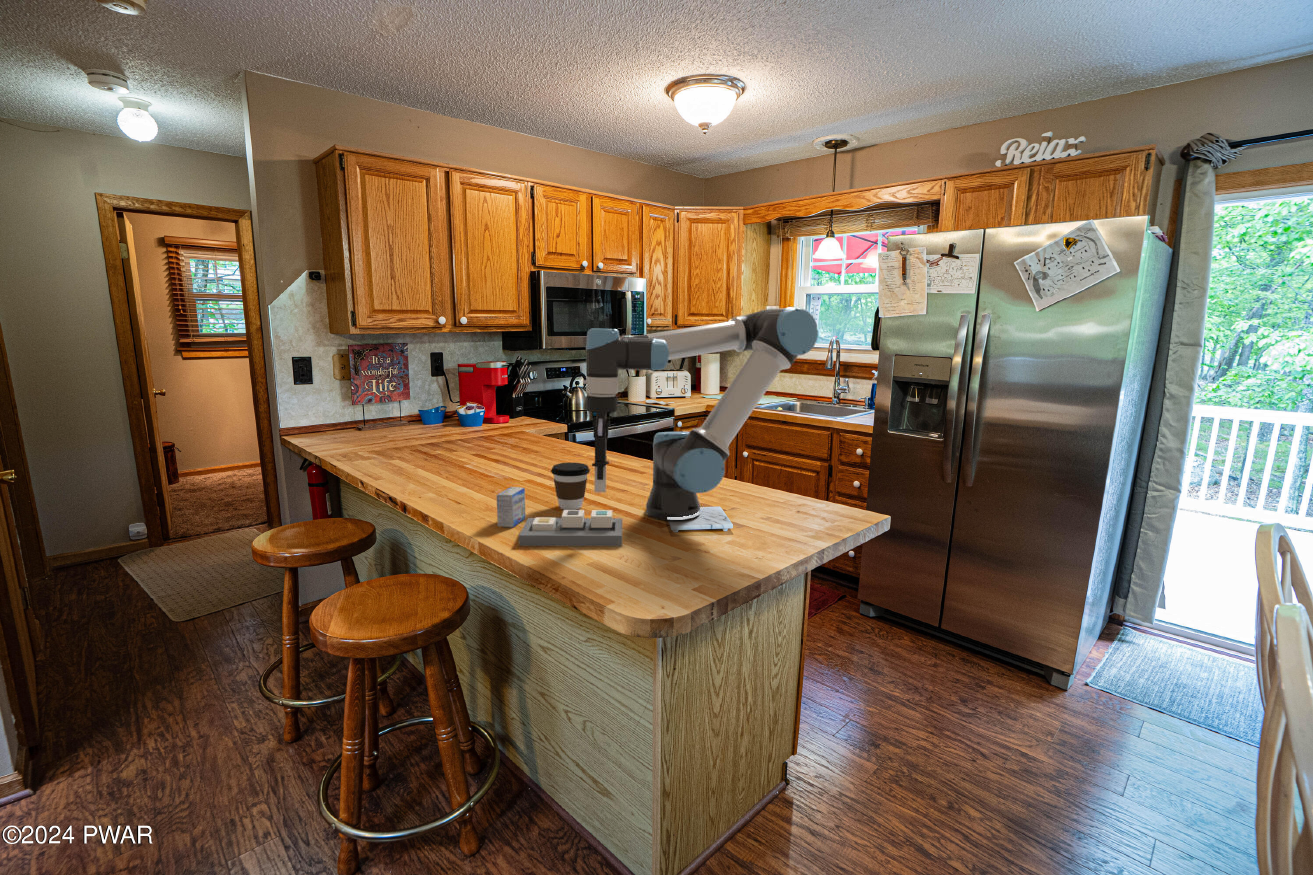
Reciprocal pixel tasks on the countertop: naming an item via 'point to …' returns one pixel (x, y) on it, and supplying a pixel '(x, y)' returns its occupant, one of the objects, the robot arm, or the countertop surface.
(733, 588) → the countertop surface
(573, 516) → the key
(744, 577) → the countertop surface
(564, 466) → the coffee cup
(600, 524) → the key
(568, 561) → the countertop surface
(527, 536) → the keypad board
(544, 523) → the key
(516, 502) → the medicine box
